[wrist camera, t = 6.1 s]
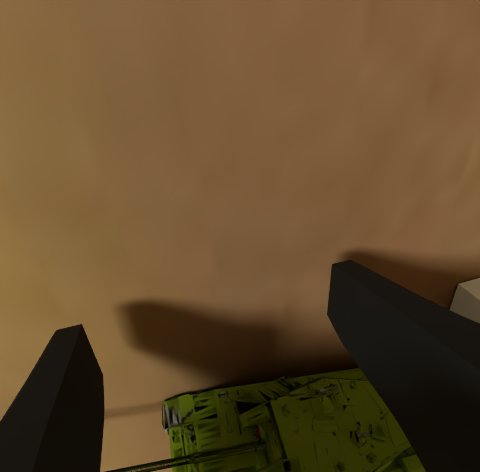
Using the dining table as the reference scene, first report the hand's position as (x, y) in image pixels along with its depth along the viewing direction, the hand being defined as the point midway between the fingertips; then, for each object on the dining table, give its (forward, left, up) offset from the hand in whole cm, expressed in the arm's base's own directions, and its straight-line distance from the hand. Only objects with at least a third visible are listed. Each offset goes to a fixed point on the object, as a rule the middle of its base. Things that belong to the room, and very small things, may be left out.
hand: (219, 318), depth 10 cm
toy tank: (+1, -5, -2) cm, 5 cm away
